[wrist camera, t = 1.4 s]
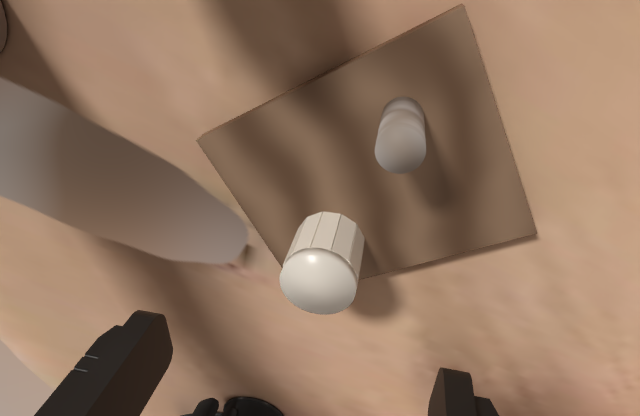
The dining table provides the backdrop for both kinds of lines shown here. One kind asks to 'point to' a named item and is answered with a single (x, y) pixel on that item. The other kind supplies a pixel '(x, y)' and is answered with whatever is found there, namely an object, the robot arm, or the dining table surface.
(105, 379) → the robot arm
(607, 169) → the dining table surface
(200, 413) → the milk frother
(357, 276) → the cap
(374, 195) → the post board
